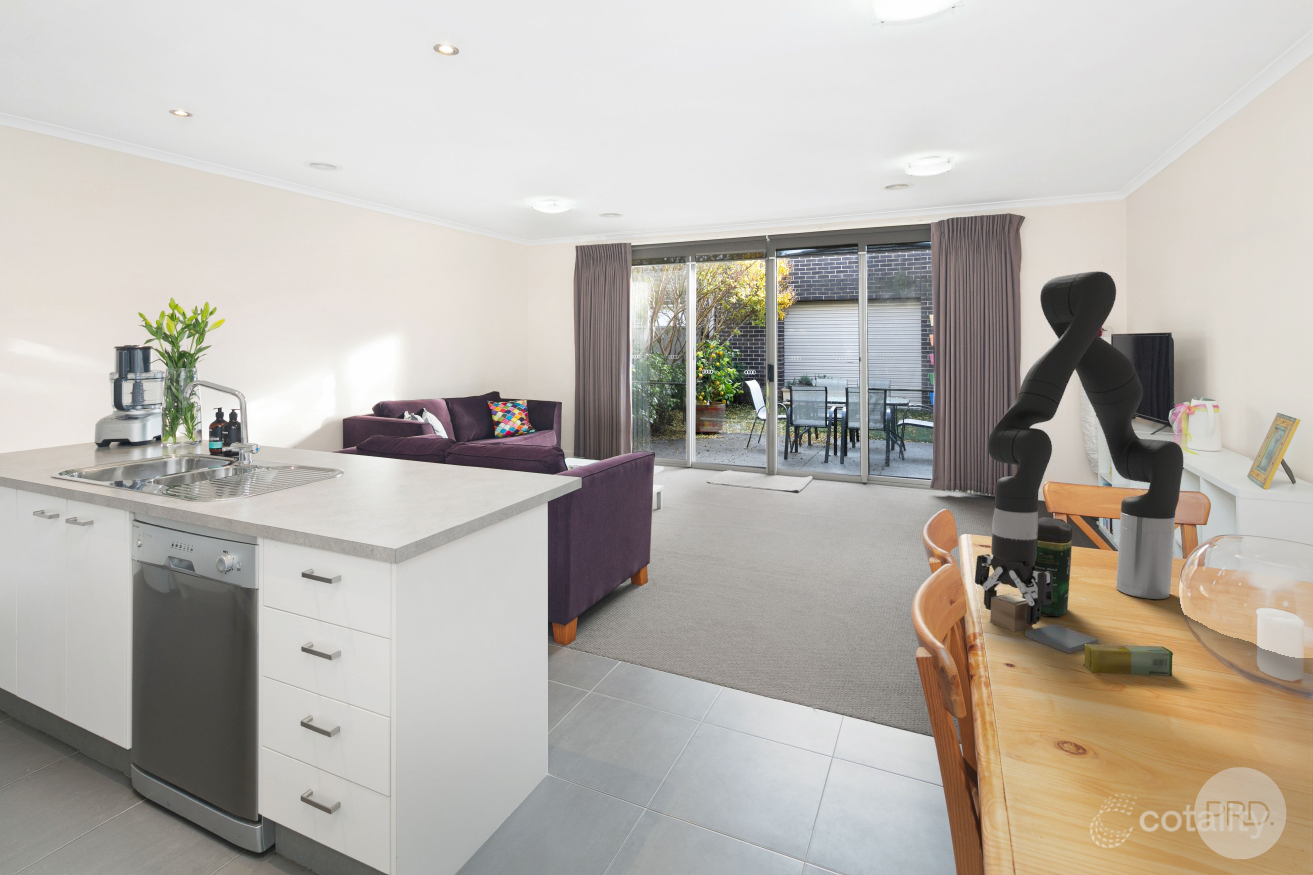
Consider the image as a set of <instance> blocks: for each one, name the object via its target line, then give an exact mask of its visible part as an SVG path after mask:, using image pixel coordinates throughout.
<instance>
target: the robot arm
mask: <svg viewBox="0 0 1313 875" xmlns="http://www.w3.org/2000/svg"><path fill="white" fill-rule="evenodd" d="M1039 298H1040V306H1041V310H1042V313H1043V315H1044V318H1045V319H1046V320H1047V323H1048V324H1049V326H1050V328H1051V329H1052V331H1053V332H1054V334H1055V335H1056V337H1057V341H1056V342H1055V343H1054V344H1053V345H1052V346H1051V347H1050V348H1048V350H1046V351H1045V352H1044V353H1043V354H1042V355H1041V356H1040V357H1039V358H1038V359H1037V360H1036V361H1035V362H1034V363H1033V364H1032V366H1031V367H1030V368H1029V369H1028V371H1027V372H1026V374H1025V376H1024V378H1023V380H1022V384H1021V386H1020V388H1019V391H1018V393H1017V396H1016V398H1015V401H1014V402H1013V403H1012V404H1011V406H1010V407H1009V408H1008V409H1007V410H1006V412H1005V413H1004V414H1003V416H1002V417H1001V418H1000V420H998V422H997V423H996V424H995V425H994V427H993V429H992V431H991V432H990V434H989V437H988V440H987V450H988V454H989V455H990V457H991V459H993V460H994V461H995V462H998V463H1001V464H1008V465H1009V464H1010V465H1016V466H1018V469H1017V471H1016V473H1015V475H1014V476H1010V475H1009V476H1003V477H1001V478H999V479H997V481H996V485H995V495H994V496H995V499H994V512H993V516H992V526H991V527H992V528H991V530H992V531H991V548H990V549H991V551H990V552H991V554H990V553H986V554H985V553H984V554H980V555H977V557H976V565H975V575H974V583H975V584H976V585H979V586H981V587H982V589H983V605H984V606H985V607H984V608H985V609H986V610H988V611H991V597H995V596H998V590H997V589H996V588H997V587H999V585H1000V584H1002V585H1007V586H1010V587H1012V588H1015V589H1018V591H1019V593H1020V594H1021V595H1022V594H1023V595H1024V596H1025V598H1026V600H1027V602H1028V603H1029V605H1027V621H1026V622H1027V624H1029V625H1032V626H1033V625H1037V623H1040V621H1041V615H1040V614H1041V606H1042V605H1047V604H1051V603H1052V602H1053V574H1052V572H1051V571H1046V572H1043V571H1038V570H1036V568H1035V561H1036V558H1037V542H1038V519H1039V513H1038V508H1039V491H1040V487H1041V484H1042V483H1043V482H1042V481H1043V479H1044V476H1045V473H1046V472H1047V468H1048V465H1049V463H1050V460H1051V457H1052V452H1053V443H1052V441H1051V437H1050V436H1049V435H1048V433H1047V432H1046V431H1045V430H1043V429H1040V428H1034V427H1032V426H1034V425H1036V424H1041V423H1046V422H1049V421H1051V420H1052V419H1054V417H1055V416H1056V413H1057V411H1058V408H1059V406H1060V403H1061V401H1062V398H1063V396H1064V394H1065V391H1066V388H1067V386H1068V384H1069V381H1070V379H1071V378H1072V375H1073V374H1074V372H1075V371H1076V374H1077V375H1078V378H1079V381H1080V383H1081V387H1082V388H1083V390H1084V393H1085V394H1086V396H1087V398H1088V401H1089V402H1090V404H1091V406H1092V409H1093V411H1094V412H1095V416H1096V418H1097V420H1098V421H1099V422H1098V423H1099V424H1100V427H1101V429H1102V431H1103V434H1104V437H1105V442H1106V444H1107V447H1108V450H1109V451H1108V452H1109V454H1110V458H1111V461H1112V464H1113V466H1114V468H1115V470H1116V472H1117V473H1118V474H1119V476H1120V477H1121V478H1123V479H1126V480H1129V481H1134V482H1140V483H1146V484H1149V487H1148V490H1147V492H1146V493H1144V494H1141V495H1135V496H1129V497H1125V498H1124V499H1123V500H1122V501H1121V503H1120V504H1121V505H1120V521H1119V538H1118V540H1119V541H1118V553H1117V555H1118V557H1117V569H1116V570H1117V571H1116V586H1115V587H1116V588H1115V589H1116V590H1118V591H1119V592H1121V593H1124V594H1126V595H1130V596H1133V597H1138V598H1143V599H1150V600H1165V599H1168V598H1170V593H1171V586H1172V572H1173V571H1172V569H1173V560H1174V557H1173V556H1174V555H1173V554H1174V550H1173V549H1174V536H1175V521H1176V520H1175V519H1176V512H1177V507H1178V503H1179V500H1180V492H1181V484H1182V478H1183V471H1184V453H1183V449H1182V447H1181V446H1180V445H1179V444H1178V442H1175V441H1171V440H1164V439H1163V440H1161V439H1150V438H1149V439H1148V438H1141V437H1139V436H1138V435H1137V433H1136V432H1135V430H1134V428H1133V424H1132V421H1133V418H1134V416H1135V414H1136V412H1137V411H1138V409H1139V406H1140V404H1141V402H1142V398H1143V396H1144V390H1143V385H1142V382H1141V380H1140V378H1139V375H1138V372H1137V370H1136V368H1135V365H1134V364H1133V362H1132V361H1131V360H1130V359H1129V357H1128V356H1126V355H1125V354H1124V353H1123V352H1122V351H1120V350H1119V349H1118V348H1116V347H1115V346H1113V345H1112V344H1111V343H1109V342H1108V341H1106V340H1105V339H1104V338H1102V337H1101V336H1099V335H1098V333H1099V332H1100V330H1101V329H1102V327H1103V325H1104V324H1105V322H1106V320H1107V319H1108V317H1109V316H1110V313H1111V312H1112V310H1113V308H1114V305H1115V302H1116V298H1117V286H1116V283H1115V281H1114V279H1113V277H1112V276H1111V275H1110V274H1108V273H1107V272H1105V271H1097V270H1095V271H1088V272H1079V273H1074V274H1073V273H1072V274H1066V275H1062V276H1056V277H1053V278H1051V279H1048V280H1047V281H1046V282H1045V283H1043V286H1042V288H1041V290H1040V297H1039ZM991 555H992V556H991ZM991 567H992V570H993V572H992V573H991V575H990V569H991ZM1034 577H1035V578H1036V580H1035V581H1036V582H1038V587H1037V585H1036V584H1035V582H1034V580H1033V578H1034ZM1027 584H1028V586H1029V588H1027V587H1026V585H1027Z"/></svg>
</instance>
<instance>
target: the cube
mask: <svg viewBox="0 0 1313 875" xmlns="http://www.w3.org/2000/svg"><path fill="white" fill-rule="evenodd" d="M1027 605H1029V603H1028V602H1027V600H1026V599H1024V598H1022V597H1021V596H1018V595H1015V594H1012V593H1008V592H1007V593H1005V594H1001V595H1000V594H999V595H997V596H995V597H991V610H990V617H989V621H990V623H991V624H994V625H996V626H999V627H1002V628H1003V629H1004V628H1005V629H1007V630H1010V631H1011V632H1012V631H1013V632H1017V631H1021V630H1025V629H1029V628H1032V627H1033V625H1029V624H1027V622H1026V621H1027Z"/></svg>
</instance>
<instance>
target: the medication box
mask: <svg viewBox="0 0 1313 875" xmlns="http://www.w3.org/2000/svg"><path fill="white" fill-rule="evenodd" d="M1173 656H1174V652H1173V651H1171V650H1170V649H1168V648H1166V647H1164V646H1161V645H1160V646H1155V645H1131V644H1130V645H1128V644H1127V645H1123V644H1098V645H1097V644H1085V649H1084V663H1083V665H1082V666H1084V667H1085V668H1086V669H1087V670H1088V671H1089V672H1091V673H1096V674H1097V673H1098V674H1117V675H1119V674H1121V675H1138V676H1139V675H1140V676H1142V675H1143V676H1144V675H1145V676H1159V677H1161V676H1165V677H1173Z"/></svg>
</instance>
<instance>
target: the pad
mask: <svg viewBox="0 0 1313 875" xmlns="http://www.w3.org/2000/svg"><path fill="white" fill-rule="evenodd" d="M1024 633H1025V634H1024V637H1025V638H1027V639H1031V640H1033V641H1035V642H1037V643H1040V644H1043V645H1046V646H1049V647H1051V648H1054V649H1056V650H1059V651H1061V652H1064V653H1067V654H1070V655H1071V654H1072V653H1076V652H1080V651H1082V650H1085V644H1097V645H1099V638H1096V637H1093V636H1090V635H1088V634H1084V633H1082V632H1079V631H1076V630H1074V629H1073V630H1072V629H1071V628H1067V627H1064V626H1062V625H1059V624H1055V623H1050V624H1048V625H1044V626H1043V625H1042V626H1040V627H1036V628H1033V629H1029V630H1026V631H1025V632H1024Z"/></svg>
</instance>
